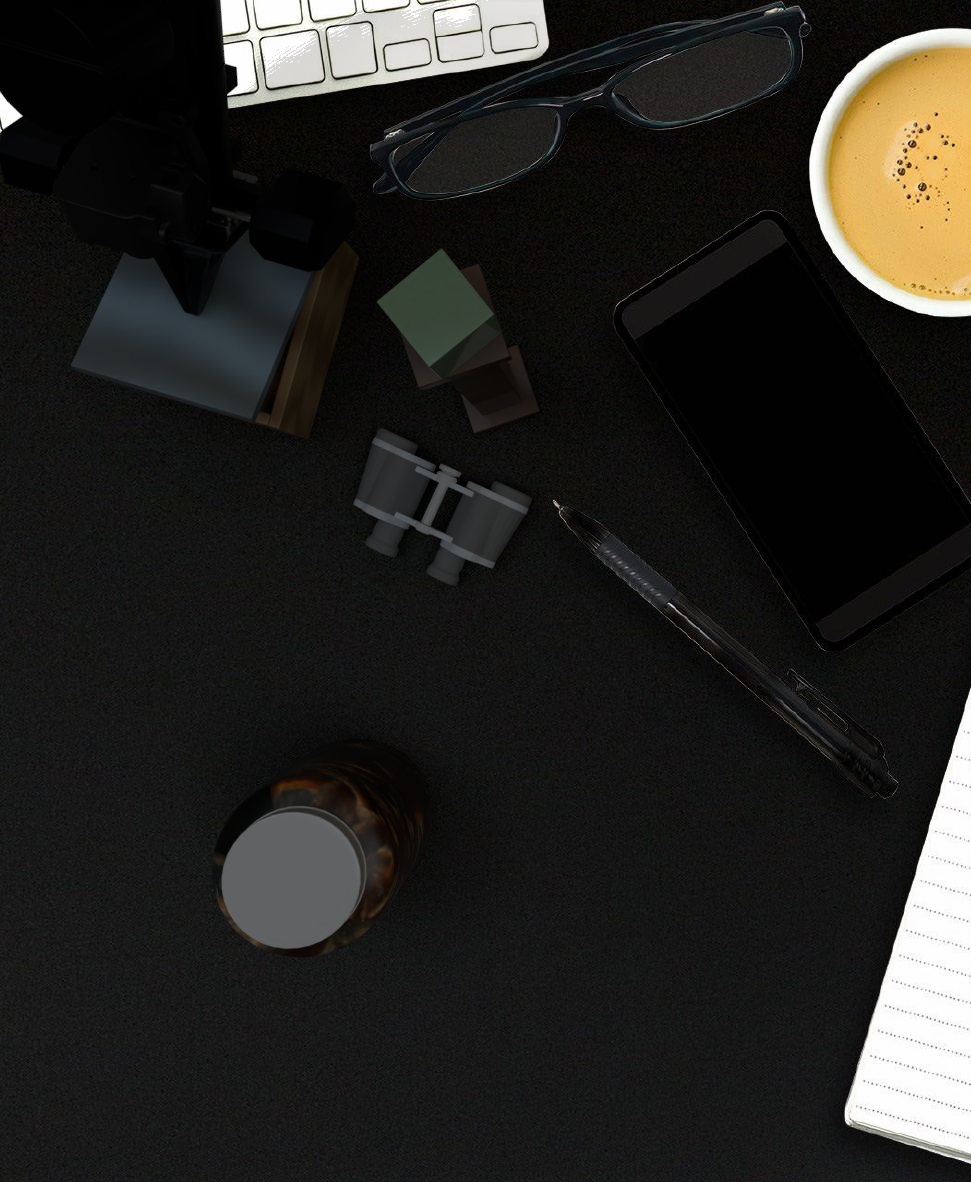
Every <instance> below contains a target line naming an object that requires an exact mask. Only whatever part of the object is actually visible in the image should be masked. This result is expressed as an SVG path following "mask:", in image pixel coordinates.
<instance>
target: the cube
mask: <svg viewBox="0 0 971 1182" xmlns="http://www.w3.org/2000/svg"><path fill="white" fill-rule="evenodd" d="M460 270H461V269H459V268H458V266H457V265H456V264H455V263H454V261H453V260H452V259H451V258H450V256H449V255H448V254H447V252H446V251H445V250H444V249H443V248H440V249H438V250H437V251H436V252H435V253H434V254H433V255H431V256H430V257H429V258H428V259H427V260H425V261H424V262H423V263H422V264H420V265H419V266H418V267H417V268H415V269H414V270H413V271H412V272H410V273H409V274H408V275H407V276H406V277H404V278H403V279H402V280H401V281H400V282H399V283H397V284H396V285H394V287H392V288H391V289H390V290H389V291H387V292H386V293H385V294H384V295H382V297H380V298H379V299H378V300H376V303H377V304H378V305H379V307H380V308H381V309H382V311H383V312H384V313H385V315H386V316H388V318H389V320H390V321H391V322H392V323H393V324H394V326H395V327H396V328H397V329H398V331H399V330H400V332H401V333H402V334H403V335H404V337H405V338H406V339H407V340H408V342H409V343H410V344H411V345H412V347H413V348H414V349H415V350H416V352H417V353H418V354H419V355H420V357H421V358H422V359H423V360H424V362H425V363H426V364H427V365H428V367H429V368H430V369H431V370H432V371H433V372H434V373H435V374H436V375H437V376H438V377H439V378H440V379H441V380H444V379H446V378H447V377H448V376H449V375H450V374H452V373H453V372H454V371H455V370H457V369H458V368H459V367H460V366H461V365H463V364H464V363H465V362H466V361H468V360H469V359H470V358H471V357H473V356H474V355H475V354H476V353H477V352H479V351H480V350H481V349H482V348H484V347H485V346H486V345H487V344H489V343H490V342H491V341H492V340H493V339H495V338H496V337H497V336H498V335H500V334H501V333H502V332H503V333H504V330H503V328H502V325H501V323H500V324H499V323H498V321H497V319H496V317H495V315H494V313H493V312H492V310H491V309H490V308H489V307H488V305H487V304H486V303H485V302H484V300H483V299H482V298H481V297H480V295H479V294H478V293H477V292H476V290H475V289H474V288H473V287H472V285H471V284H470V283H469V282H468V280H467V279H466V278H465V277H464V275H463V274H462V273H461V272H460ZM500 325H501V326H500ZM400 332H399V333H400Z"/></svg>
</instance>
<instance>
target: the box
mask: <svg viewBox="0 0 971 1182" xmlns="http://www.w3.org/2000/svg"><path fill="white" fill-rule="evenodd" d="M359 262H360V256H359V255H358V254H357V253H356V252H355V251H354V250H353V248H351V246H350V245H349V244H348V243H347V242H346V240H344V242H343V243H342V244H341V245H340V247H339V248H338V249H337V251H336V252H335V253H334V254H333V256H332V257H331V258H330V259H329V261H328V262H327V263H326V265H325V266H324V267H323V268H322V270H318V271H317V272H316V275H315V277H314V280H313V282H312V285H311V287H310V289H309V292H308V294H307V297H306V299H305V302H304V304H303V306H302V309H301V311H300V314H299V316H298V319H297V321H296V324H295V326H294V328H293V331H292V333H291V336H290V338H289V341H288V343H287V345H286V348H285V350H284V353H283V355H282V358H281V360H280V362H279V365H278V367H277V370H276V372H275V375H274V377H273V380H272V382H271V384H270V387H269V389H268V392H267V394H266V397H265V399H264V401H263V404H262V406H261V409H260V411H259V414H258V416H257V419H256V421H255V423H254V424H253V423H250V422H247V421H245V422H246V423H249V424H252V425H256V426H260V427H263V428H267V429H268V430H269V429H270V430H273V431H277V432H280V433H284V434H287V435H290V436H294V437H297V438H300V439H304V440H309V439H310V436H311V433H312V430H313V426H314V422H315V420H316V419H315V418H316V414H317V411H318V408H319V404H320V401H321V397H322V393H323V390H324V386H325V383H326V379H327V376H328V372H329V368H330V365H331V362H332V359H333V354H334V351H335V347H336V345H337V340H338V336H339V333H340V329H341V326H342V322H343V319H344V315H345V312H346V308H347V304H348V301H349V298H350V295H351V291H352V287H353V283H354V279H355V276H356V273H357V270H358V269H357V268H358V265H359ZM153 395H154V396H157V397H159V396H158V395H155V394H153ZM160 398H165V397H162V396H160ZM165 399H168V398H165ZM168 400H169V399H168ZM170 400H171V401H175V400H172V399H170ZM175 402H176V401H175ZM177 402H178V403H181V404H185V403H182V402H179V401H177ZM185 405H186V404H185ZM187 406H191V407H193V406H192V405H189V404H187ZM194 407H195V408H198V409H202V408H199V407H196V406H194ZM202 410H203V409H202ZM204 410H205V411H207V412H208V411H209V410H206V409H204ZM209 412H210V411H209ZM211 412H212V413H216V412H213V411H211ZM216 414H217V415H220V414H219V413H216ZM221 415H222V416H226V415H223V414H221ZM226 417H227V416H226ZM228 418H232V419H235V420H237V419H236V418H233V417H230V416H228ZM238 420H239V421H242V422H244V421H243V420H240V419H238Z"/></svg>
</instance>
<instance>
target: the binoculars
mask: <svg viewBox="0 0 971 1182" xmlns="http://www.w3.org/2000/svg"><path fill="white" fill-rule="evenodd" d="M418 449H419V445H418V444H417V443H415V442H413V441H411V440H409V439H407V438H406V437H402V436H400V435H398V434H396V433H394V432H392V431H390V430H387V429H386V428H383V427H380V428H377V432H376V434H375V436H374V437H373V440H372V442H371V446H370V449H369V453H368V457H367V459H366V463H365V467H364V470H363V473H362V477H361V480H360V484H359V487H358V491H357V495H356V497H355V499H354V502H353V506H355V507H357V508H359V509H361V510H362V511H363V512H365V514H368V515H370V516H372V517H374V518H375V519H378V520H377V522H375V523H376V524H374V525H375V526H374V528H373V530H372V533H371V534H370V535H369V536H367V538H366V540H365V542H364V545H365V546H366V547H368V548H370V549H372V550H373V551H376V552H378V553H380V554H383V555H384V556H387V557H390V558H394V559H395V558H396V557H397V555H398V553H399V551H400V550H399V544H401V542H402V539H403V537H404V535H405V531H406V530H409V528H410V527H411V526H412V527H414V528H415V530H416V531H418V532H420V533H422V534H424V535H427V536H429V535H431V536H434V537H436V538H438V539H441V540H440V543H439V546H440V547H439V549H438V550H437V552H436V554H435V557H434V560H433V562H432V563H430V564H429V565H428V567H427V569H426V571H425V573H426V574H427V575H428V576H430V577H432V578H434V579H436V580H438V581H440V582H442V583H445V584H447V585H449V586H452V587H457V586H458V584H459V582H460V572H462V570H463V568H464V566H465V563H466V560H467V561H469V562H472V563H475V564H478V565H482V566H483V567H486V568H489V569H492V570H493V569H494V568H495V565H496V562H497V561H498V559H499V557H500V556H501V554H502V553H503V551H504V550H505V548H506V546H507V545H508V544H509V541H510V540H511V539H512V536H513V535H514V533H515V532H516V530H517V529H518V527H519V526H520V525H521V523H522V521H523V519H524V518H525V516H526V515H527V514H528V511H529V508H530V506H531V504H532V501H533V498H532V496H529V495H527V494H526V493H523V492H521V491H519V490H517V489H515V488H512V487H511V486H508V485H506V484H504V483H502V482H500V481H497V480H495V481H493V482H492V485H491V487H490V489H488V488H487V487H484V486H481V485H479V484H478V483H475V482H473V481H471V480H468V481H467V484H466V486H462V485H460V484H458V483H457V482H458V479H457V478H460V477H461V475H462V472H460V471H458V470H456V469H454V468H452V467H450V466H448V465H446V464H444V463H440V464H439V467H438V469H439V470H438V471H437V472H436V473H434V472H435V470H436V468H437V465H436V464H434V463H432V462H430V461H428V460H427V459H426V460H425V459H423V458H422V457H419V456H416V452H417V450H418ZM431 480H433V481H435V482H437V483H438V484H437V486H436V487H435V490H434V492H433V494H432V497H431V499H430V501H429V503H428V505H427V508H426V510H425V512H424V515H423V517H422V519H421V521H420V520H417V519H416V518H414V516H415V514H416V512H417V510H418V507H419V505H420V503H421V501H422V498H423V496H424V494H425V492H426V489H427V488H428V485H429V482H430V481H431ZM449 488H450V489H452V490H455V491H457V492H459V493H461V497H460V499H459V501H458V502H459V503H458V504H457V506H456V507H455V508H456V509H455V511H454V512H453V514H452V517H451V519H450V521H449V524H448V525H447V528H446V530H445V532H443V531H441V530H439V529H436V528H434V527H433V526H432V524H433V521H434V519H435V517H436V515H437V513H438V510H439V509H440V507H441V504H442V502H443V500H444V497H445V495H446V493H447V491H448V489H449Z"/></svg>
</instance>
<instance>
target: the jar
mask: <svg viewBox="0 0 971 1182" xmlns="http://www.w3.org/2000/svg"><path fill="white" fill-rule="evenodd" d="M432 802H433V801H432V797H431V793H430V790H429V788H428V785H427V783H426V781H425V779H424V777H423V775H422V774H421V772H420V770H419V769H418V768H417V767H416V766H415V764H414V763H413V762H412V761H410V759H408V758H407V756H405V755H403V753H401V752H399V751H398V750H396V749H394V748H393V747H391V746H389V745H387V744H384V743H380V742H377V741H373V740H368V739H344V740H339V741H335V742H334V741H333V742H331V743H328V744H325V745H323V746H320V747H319V748H317V749H315V750H313V751H311V752H309V753H308V754H306V755H305V756H303V757H301V758H299V759H298V760H296V761H295V762H294V763H292V764H290V765H289V766H287V767H286V768H285V769H283V770H282V771H280V772H279V773H277V774H275V775H274V776H273V777H271V778H270V779H268V780H267V781H266V782H264V783H263V784H262V785H260V786H259V787H257V788H256V789H255V790H254V791H252V792H251V793H250V794H249V795H248V796H246V797H245V798H244V799H243V800H242V801H241V802H240V803H239V805H237V807H236V808H235V809H234V810H233V812H232V813H231V815H230V816H229V817H228V818H227V820H226V821H225V823H224V825H223V827H222V828H221V830H220V833H219V834H218V837H217V841H216V843H215V846H214V849H213V855H212V863H211V879H212V885H213V886H212V887H213V891H214V894H215V898H216V901H217V904H218V906H219V909H220V910H221V912H222V915H223V916H224V918H225V919H226V921H227V922H228V924H230V926H231V927H232V928H233V929H234V930H235V932H237V933H238V935H240V936H241V938H243V939H244V940H246V941H247V942H249V943H250V944H251V945H254V947H257V948H259V949H260V950H263V951H264V952H268V953H271V954H274V955H277V956H282V957H287V958H301V959H302V958H314V957H319V956H324V955H327V954H332V953H334V952H337V951H339V950H341V949H343V948H345V947H347V946H349V945H350V944H353V942H355V941H356V940H358V939H359V938H360V937H362V936H363V935H365V934H366V933H367V932H368V931H369V930H370V929H371V928H372V927H373V926H374V925H375V924H376V923H377V922H378V921H379V919H381V917H382V916H383V915H384V913H385V912H386V911H387V910H388V908H389V907H390V905H391V904H392V902H393V901H394V899H395V898H396V897H397V896H398V894H399V892H400V891H401V890H402V888H403V886H404V885H405V883H406V882H407V880H408V879H409V877H410V875H412V872H413V871H414V869H415V868H416V866H417V864H418V863H419V861H420V860H421V858H422V856H423V854H424V853H425V850H426V848H427V845H428V843H429V841H430V836H431V832H432V828H433V819H434V817H433V815H434V811H433V803H432Z"/></svg>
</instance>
